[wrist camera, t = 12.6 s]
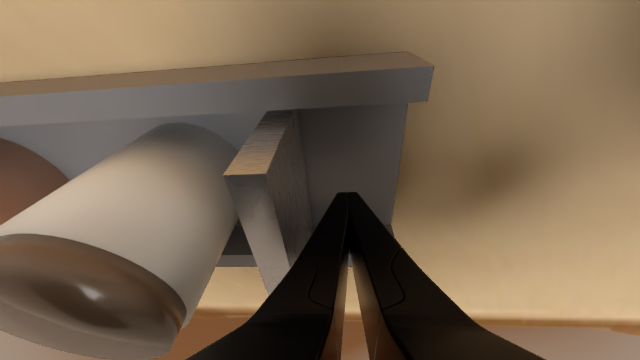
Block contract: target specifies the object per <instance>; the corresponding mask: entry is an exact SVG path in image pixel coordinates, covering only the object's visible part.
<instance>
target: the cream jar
mask: <svg viewBox="0 0 640 360" xmlns="http://www.w3.org/2000/svg"><path fill="white" fill-rule="evenodd" d="M237 154H238V151H237V150H236V149H235V148H234V147H233V146H232V145H231V144H230V143H229V142H227V141H226V140H225V139H223V138H222V137H221V136H219V135H217V134H216V133H214V132H212V131H210V130H208V129H206V128H203V127H200V126H197V125H193V124H189V123H181V122H172V123H165V124H162V125H159V126H156V127H154V128H153V129H151V130H149V131H148V132H146V133H145V134H143V135H142V136H140V137H138V138H137V139H135V140H134V141H132V142H131V143H129V144H127V145H126V146H124V147H123V148H121V149H120V150H118V151H116V152H115V153H113V154H112V155H110V156H109V157H107V158H105V159H104V160H102V161H101V162H99V163H98V164H96V165H94V166H93V167H91V168H90V169H88V170H87V171H85V172H83V173H82V174H80V175H79V176H77V177H76V178H74V179H72V180H71V181H69V182H68V183H66V184H65V185H63V186H61V187H60V188H58V189H57V190H55V191H54V192H52V193H50V194H49V195H47V196H46V197H44V198H43V199H41V200H39V201H38V202H36V203H35V204H33V205H32V206H30V207H28V208H27V209H25V210H24V211H22V212H21V213H19V214H17V215H16V216H14V217H13V218H11V219H10V220H8V221H6V222H5V223H3V224H2V225H0V330H1V331H4V332H6V333H9V334H11V335H14V336H16V337H19V338H22V339H25V340H27V341H30V342H33V343H36V344H40V345H43V346H46V347H50V348H53V349H57V350H61V351H65V352H69V353H73V354H78V355H83V356H89V357H94V358H102V359H110V360H150V359H155V358H158V357H161V356H163V355H165V354H167V353H168V352H169V351H170V349H171V348H172V345H173V344H174V341H175V339H176V337H177V335H178V333H179V331H180V329H182V328H184V327H185V326H186V325H187V324H188V323H189V322H190V320H191V318H192V316H193V314H194V311H195V309H196V307H197V305H198V303H199V301H200V299H201V297H202V294H203V292H204V290H205V288H206V286H207V284H208V282H209V280H210V277H211V275H212V273H213V271H214V269H215V267H216V265H217V263H218V260H219V258H220V256H221V254H222V252H223V250H224V248H225V246H226V243H227V241H228V239H229V237H230V235H231V233H232V231H233V229H234V226H235V224H236V222H237V220H238V218H239V217H238V214H237V211H236V209H235V206H234V203H233V201H232V198H231V196H230V193H229V190H228V188H227V185H226V183H225V180H224V177H223V174H224V173H225V171H226V170H227V168H228V167H229V165H230V164H231V162H232V161H233V160H234V158H235V157H236V155H237Z"/></svg>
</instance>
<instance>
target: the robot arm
mask: <svg viewBox="0 0 640 360" xmlns="http://www.w3.org/2000/svg"><path fill="white" fill-rule="evenodd" d="M349 249H350V255H351V260H352V266H353V271H354V277H355V282H356V288H357V293H358V299H359V304H360V310H361V315H362V321H363V326H364V332H365V337H366V342H367V348H368V353H369V359H370V360H546V359H543V358H542V357H540V356H538V355H536V354H534V353H532V352H530V351H528V350H525V349H523V348H522V347H520V346H518V345H516V344H514V343H512V342H510V341H508V340H506V339H504V338H502V337H500V336H498V335H496V334H494V333H492V332H490V331H488V330H486V329H485V328H483V327H482V326H480V325H479V324H478V323H476V322H475V321H474V320H472V319H471V318H470V317H469V316H468V315H467V314H466V313H464V312H463V311H462V310H461V309H460V308H459V307H458V306H457V305H456V304H455V303H454V302H453V301H452V300H451V299H450V298H449V297H448V296H447V295H446V294H445V293H444V292H443V291H442V290H441V289H440V288H439V287H438V286H437V285H436V284H435V283H434V282H433V281H432V280H431V279H430V278H429V277H428V276H427V275H426V274H425V273H424V272H423V271H422V270H421V269H420V268H419V267H418V266H417V264H416V263H415V262H414V261H413V260H412V259H411V257H410V256H409V255H408V254H407V253H406V251H405V250H404V249H403V248H401V245H400V244H399V243H398V242H397V240H396V239H395V238H394V237H393V236H392V234H391V233H390V232H389V231H388V229H387V228H386V227H385V226H384V224H383V223H382V222H381V221H380V220H379V218H378V217H377V216H376V215H375V213H374V212H373V211H372V210H371V208H370V207H369V206H368V205H367V204H366V202H365V201H364V200H363V199H362V197H361V196H360V195H359V194H358V193H357V192H338V193H337V194H336V195H335V197H334V199H333V200H332V202H331V204H330V205H329V207H328V209H327V210H326V212H325V214H324V215H323V217H322V218H321V220H320V222H319V223H318V225H317V227H316V228H315V230H314V232H313V233H312V235H311V237H310V238H309V240H308V242H307V243H306V245H305V247H304V249H303V250H302V251H301V253H300V255H299V256H298V258H297V259H296V261H295V262H294V264H293V265H292V267H291V268H290V270H289V271H288V272H287V274H286V275H285V276H284V278H283V279H282V280H281V282H280V283H279V284H278V285H277V287H276V288H275V289H274V290H273V292H272V293H271V294H270V295H269V297H268V298H267V299H266V300H265V302H264V303H263V304H262V305H261V307H260V308H259V309H258V310H257V312H256V313H255V314H254V315H253V316H252V317H251V318H250V319H249V320H248V321H247V322H246V323H244V324H243V325H242V326H240V327H239V328H237V329H236V330H234V331H232V332H231V333H229V334H227V335H226V336H224V337H222V338H221V339H219V340H217V341H216V342H214V343H212V344H211V345H209V346H207V347H206V348H204V349H202V350H201V351H199V352H197V353H196V354H194V355H193V356H191V357H189V358H188V359H186V360H341V349H342V337H343V325H344V312H345V299H346V287H347V274H348V261H349Z"/></svg>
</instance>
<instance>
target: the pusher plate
mask: <svg viewBox="0 0 640 360" xmlns="http://www.w3.org/2000/svg"><path fill="white" fill-rule="evenodd" d="M223 177H224V180H225V183H226V185H227V188H228V190H229V193H230V196H231V198H232V201H233V203H234V206H235V209H236V211H237V214H238V217H239V219H240V222H241V224H242V227H243V230H244V232H245V235H246V237H247V240H248V243H249V245H250V248H251V250H252V253H253V256H254V258H255V261H256V264H257V266H258V269H259V271H260V274H261V277H262V279H263V282H264V284H265V287H266V290H267V292H268V295H270V294H271V293H272V292H273V290H274V289H275V288H276V287H277V285H278V284H279V283H280V282H281V280H282V279H283V278H284V276H285V275H286V274H287V272H288V271H289V270H290V268H291V267H292V265H293V264H294V262H295V261H296V259H297V258H298V256H299V255H300V253H301V251H302V250H303V249H304V247H305V245H306V243H307V242H308V240H309V238H310V237H311V234H312V225H313V224H312V216H311V209H310V201H309V194H308V186H307V179H306V172H305V164H304V157H303V149H302V142H301V134H300V127H299V119H298V112H297V109H289V110H272V111H267V112H266V113H265V115H264V116H263V118H262V119H261V120H260V122H259V123H258V125H257V126H256V128H255V129H254V131H253V132H252V134H251V135H250V136H249V138H248V139H247V141H246V142H245V144H244V145H243V147H242V148H241V149H240V151H239V152H238V154H237V155H236V157H235V158H234V160H233V161H232V162H231V164H230V165H229V167H228V168H227V170H226V171H225V173H224V174H223Z"/></svg>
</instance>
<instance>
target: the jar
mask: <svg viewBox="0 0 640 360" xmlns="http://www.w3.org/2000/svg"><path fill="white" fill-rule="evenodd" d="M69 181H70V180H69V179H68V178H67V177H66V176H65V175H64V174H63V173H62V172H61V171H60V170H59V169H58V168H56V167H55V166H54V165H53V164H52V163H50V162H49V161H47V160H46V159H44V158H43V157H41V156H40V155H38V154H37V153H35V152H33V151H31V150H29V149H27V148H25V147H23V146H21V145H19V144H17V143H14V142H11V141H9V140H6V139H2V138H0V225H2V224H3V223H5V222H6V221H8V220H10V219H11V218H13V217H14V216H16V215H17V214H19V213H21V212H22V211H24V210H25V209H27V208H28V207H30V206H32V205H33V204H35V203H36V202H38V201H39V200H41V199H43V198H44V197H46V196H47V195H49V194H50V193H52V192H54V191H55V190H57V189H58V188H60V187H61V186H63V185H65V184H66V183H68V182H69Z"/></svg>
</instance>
